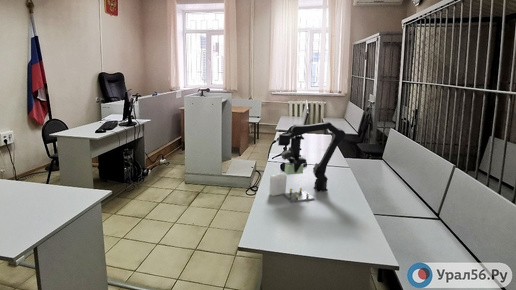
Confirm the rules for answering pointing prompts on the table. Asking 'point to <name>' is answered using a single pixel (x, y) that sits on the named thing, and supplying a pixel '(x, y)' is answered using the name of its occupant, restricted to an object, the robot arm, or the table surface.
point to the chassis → (298, 196)
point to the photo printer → (277, 184)
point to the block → (292, 169)
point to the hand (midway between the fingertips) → (293, 171)
